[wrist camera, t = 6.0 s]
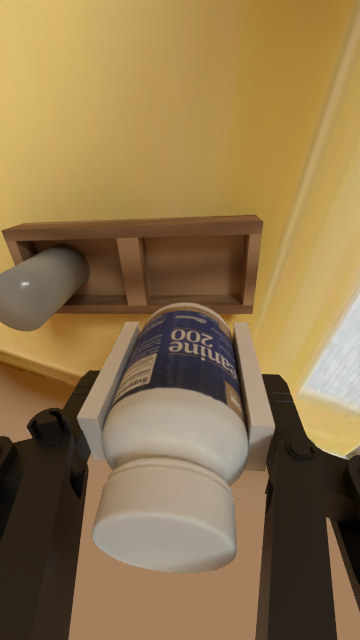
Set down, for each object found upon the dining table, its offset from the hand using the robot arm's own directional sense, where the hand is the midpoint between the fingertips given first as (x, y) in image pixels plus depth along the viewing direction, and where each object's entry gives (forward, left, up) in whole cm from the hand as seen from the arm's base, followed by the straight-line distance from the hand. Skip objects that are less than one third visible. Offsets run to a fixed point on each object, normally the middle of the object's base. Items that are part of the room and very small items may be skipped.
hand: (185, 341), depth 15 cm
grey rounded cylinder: (0, -14, -14) cm, 20 cm away
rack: (0, -6, -15) cm, 16 cm away
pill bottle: (0, 0, -1) cm, 1 cm away
